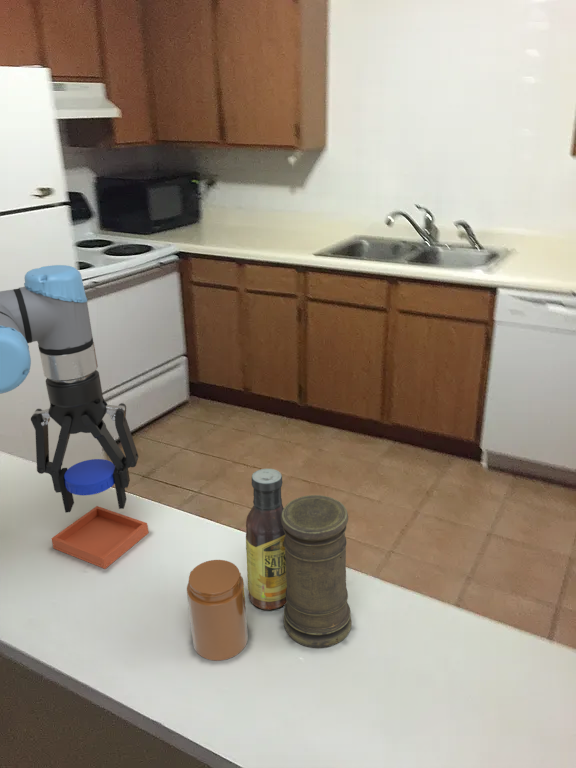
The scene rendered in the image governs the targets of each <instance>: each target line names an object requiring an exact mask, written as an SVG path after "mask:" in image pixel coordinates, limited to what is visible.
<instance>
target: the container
mask: <svg viewBox="0 0 576 768" xmlns="http://www.w3.org/2000/svg"><path fill="white" fill-rule="evenodd" d="M283 508H284V509H283V511H282V514H281V523H282V526H283V529H284V532H285V538H284V547H285V560H286V579H287V588H286V599H287V603H286V604H285V605H284V609H283V614H284V615H283V626H284V629H285V631H286V633H287V634H288V636H289V637H290V638H291V639H292V640H293V641H294V642H296V643H297V644H299V645H301V646H305V647H307V648H309V647H310V648H313V649H317V648H319V649H321V648H328V647H331V646H332V647H333V646H335V645H337V644H339V643H340V642H342V641H344V640H345V639H346V637H348V635H349V633H350V631H351V628H352V615H351V608H350V607H351V606H350V605H349V603H348V598H349V591H348V588H347V543H348V542H347V538H346V531H347V525H348V522H349V513H348V510H347V508H346V506H345V505H344V504H343V503H342V502H341V501H339V500H337V499H335V498H333V497H330V496H328V495H327V496H326V495H320V494H319V495H318V494H310V495H309V494H308V495H303V496H300V497H297V498H294V499H293V500H291V501H289V502H288V503H287V504H286V505H285V506H283Z"/></svg>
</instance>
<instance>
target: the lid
mask: <svg viewBox="0 0 576 768" xmlns="http://www.w3.org/2000/svg"><path fill="white" fill-rule="evenodd" d="M67 469H68V470H67V471H66V472H65V475H64V478H65V486H66V488H67V490H68V491H69V492H70V493H72V494H73V495H75V496H93V495H98V494H100V493H103V492H105V491H107V490H109V489H111V488H112V487H113V486H115V482H114V476H113V472H114V469H115V465H114V464H113V462H112V461H111V460H108V459H103V458H92V459H86V460H82V461H80V462H77V463H75V464H73V465H72V466H70V467H69V468H67Z"/></svg>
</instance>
